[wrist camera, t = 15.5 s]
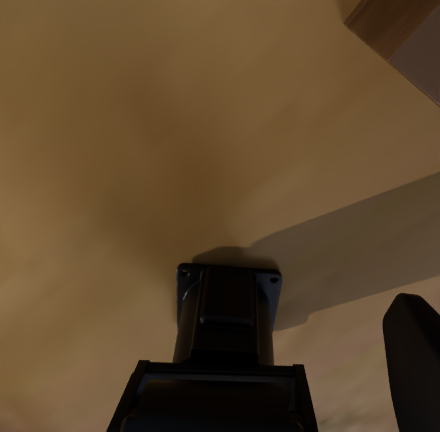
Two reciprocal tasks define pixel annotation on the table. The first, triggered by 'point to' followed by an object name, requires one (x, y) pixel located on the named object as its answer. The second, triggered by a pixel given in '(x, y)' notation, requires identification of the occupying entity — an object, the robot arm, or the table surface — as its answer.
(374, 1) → the cabinet
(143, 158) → the table surface
